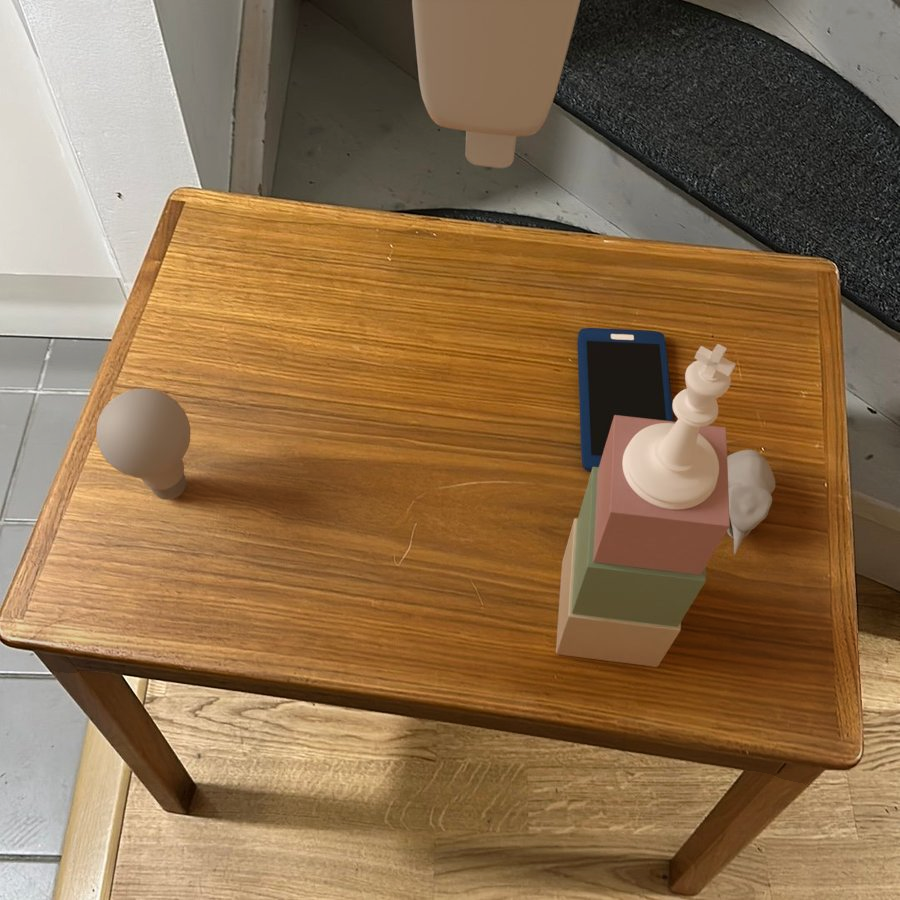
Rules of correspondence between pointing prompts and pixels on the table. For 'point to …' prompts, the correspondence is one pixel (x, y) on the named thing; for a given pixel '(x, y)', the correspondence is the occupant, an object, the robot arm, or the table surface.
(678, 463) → the chess piece
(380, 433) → the table surface
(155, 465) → the lightbulb
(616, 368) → the cell phone
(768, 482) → the figurine
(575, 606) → the block stack
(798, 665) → the table surface
